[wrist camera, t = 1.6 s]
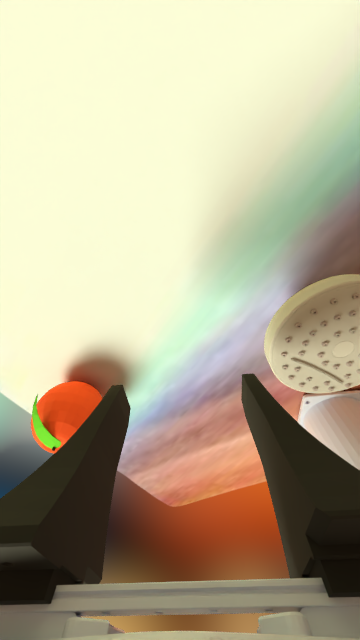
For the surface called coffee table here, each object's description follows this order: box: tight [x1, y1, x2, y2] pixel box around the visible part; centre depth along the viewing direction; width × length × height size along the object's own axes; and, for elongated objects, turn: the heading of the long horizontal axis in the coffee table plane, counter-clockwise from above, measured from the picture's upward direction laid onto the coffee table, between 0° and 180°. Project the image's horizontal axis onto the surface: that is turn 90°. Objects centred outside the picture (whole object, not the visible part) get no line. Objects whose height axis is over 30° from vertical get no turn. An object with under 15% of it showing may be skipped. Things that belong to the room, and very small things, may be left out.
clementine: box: [31, 381, 103, 453], centre depth 23 cm, size 8×7×7 cm
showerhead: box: [264, 274, 360, 393], centre depth 17 cm, size 9×7×10 cm
